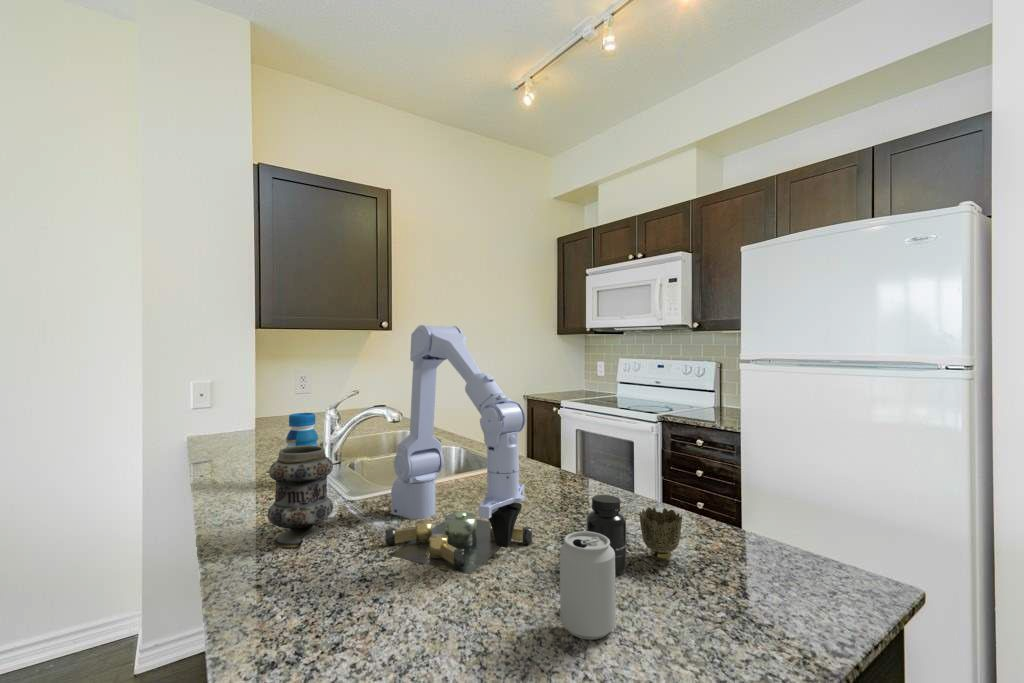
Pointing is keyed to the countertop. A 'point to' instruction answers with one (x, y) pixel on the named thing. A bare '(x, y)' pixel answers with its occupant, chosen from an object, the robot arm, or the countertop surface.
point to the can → (587, 585)
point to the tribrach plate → (469, 551)
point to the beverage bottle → (302, 430)
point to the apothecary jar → (300, 493)
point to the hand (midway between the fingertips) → (503, 545)
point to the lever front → (446, 550)
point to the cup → (660, 532)
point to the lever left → (410, 533)
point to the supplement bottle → (609, 526)
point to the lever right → (518, 534)
